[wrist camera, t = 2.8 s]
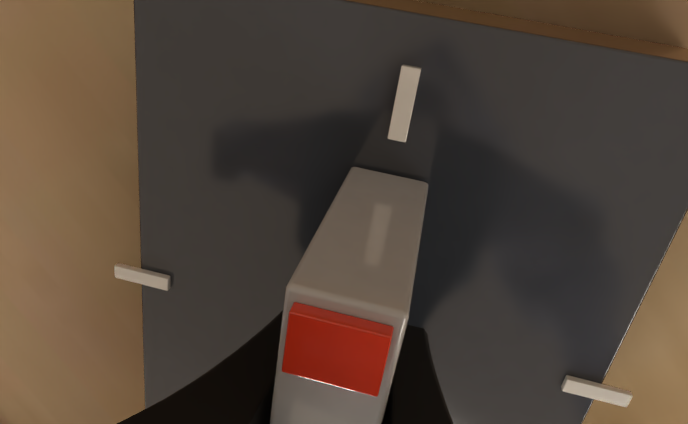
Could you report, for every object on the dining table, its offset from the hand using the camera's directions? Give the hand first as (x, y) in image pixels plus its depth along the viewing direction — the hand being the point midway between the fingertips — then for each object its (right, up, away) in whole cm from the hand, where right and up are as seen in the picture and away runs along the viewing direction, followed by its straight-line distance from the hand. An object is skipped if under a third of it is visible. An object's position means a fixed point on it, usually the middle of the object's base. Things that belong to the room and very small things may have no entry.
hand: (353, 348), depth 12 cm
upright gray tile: (0, 0, +1) cm, 1 cm away
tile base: (+1, +2, +3) cm, 4 cm away
